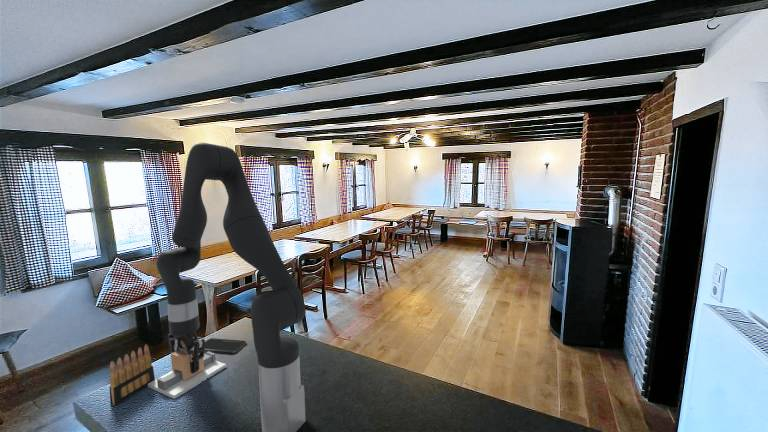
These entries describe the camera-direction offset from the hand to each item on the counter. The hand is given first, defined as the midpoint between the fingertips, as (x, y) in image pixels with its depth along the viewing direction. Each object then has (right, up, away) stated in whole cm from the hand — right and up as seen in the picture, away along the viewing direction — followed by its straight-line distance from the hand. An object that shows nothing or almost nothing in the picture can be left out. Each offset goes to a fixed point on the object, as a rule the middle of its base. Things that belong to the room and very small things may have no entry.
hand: (188, 369), depth 95 cm
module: (0, -1, 0) cm, 1 cm away
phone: (+1, -1, +17) cm, 17 cm away
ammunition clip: (-11, -4, -7) cm, 13 cm away
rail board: (0, -2, 0) cm, 2 cm away
